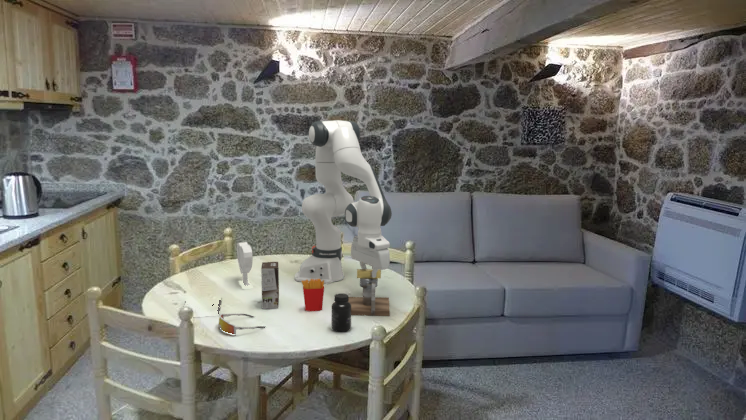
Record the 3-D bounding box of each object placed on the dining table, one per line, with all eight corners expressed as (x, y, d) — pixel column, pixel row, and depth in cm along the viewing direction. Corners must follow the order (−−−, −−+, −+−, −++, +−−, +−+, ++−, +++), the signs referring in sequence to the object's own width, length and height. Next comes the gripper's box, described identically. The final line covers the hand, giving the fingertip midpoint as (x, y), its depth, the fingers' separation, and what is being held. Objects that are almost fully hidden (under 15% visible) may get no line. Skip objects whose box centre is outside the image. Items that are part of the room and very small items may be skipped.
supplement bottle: (353, 331, 170) (353, 298, 168) (333, 333, 168) (333, 300, 166) (348, 323, 177) (348, 291, 174) (329, 325, 175) (329, 293, 172)
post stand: (389, 316, 184) (390, 285, 182) (346, 315, 184) (346, 284, 182) (388, 302, 198) (389, 273, 196) (348, 301, 198) (348, 272, 196)
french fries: (324, 307, 192) (323, 277, 190) (324, 310, 188) (324, 280, 186) (301, 307, 190) (301, 277, 188) (301, 311, 187) (301, 281, 184)
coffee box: (278, 308, 189) (278, 267, 186) (261, 309, 188) (260, 268, 185) (279, 300, 198) (278, 261, 195) (262, 300, 197) (262, 261, 194)
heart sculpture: (236, 279, 222) (234, 240, 219) (247, 278, 224) (246, 239, 221) (243, 290, 208) (241, 249, 205) (255, 289, 210) (254, 247, 207)
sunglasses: (212, 324, 174) (213, 311, 173) (253, 321, 183) (254, 308, 182) (225, 339, 162) (227, 325, 162) (268, 335, 171) (270, 321, 171)
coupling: (380, 282, 193) (380, 267, 192) (381, 291, 183) (381, 276, 181) (356, 282, 192) (357, 267, 191) (356, 291, 182) (356, 275, 181)
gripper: (346, 235, 192) (346, 269, 195) (379, 246, 176) (378, 283, 179) (360, 233, 196) (359, 267, 199) (392, 244, 180) (392, 280, 183)
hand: (368, 275), depth 189 cm, fingers closed on coupling, 4 cm apart
